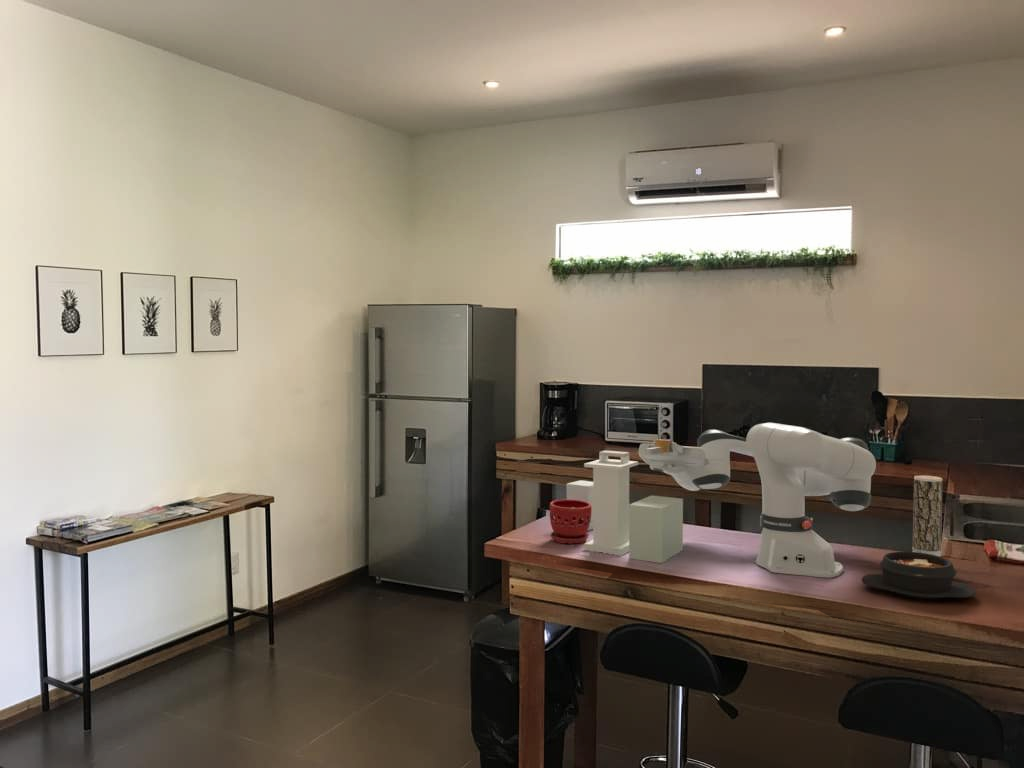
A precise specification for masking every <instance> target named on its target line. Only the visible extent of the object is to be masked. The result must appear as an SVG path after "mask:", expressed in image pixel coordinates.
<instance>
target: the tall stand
mask: <svg viewBox="0 0 1024 768" xmlns="http://www.w3.org/2000/svg"><path fill="white" fill-rule="evenodd" d="M598 454H599V456H598V459H596V460H593V461H590V462H585V463H583V468H592V475H593V476H592V477H593V478H592V480H593V481H592V482H593V529H592V530H593V531H592V533H593V535H592V539H591V540H589V541H587V542H585V543H583V545H584V547H583V549H584V551H586V550H591V551H590V552H593V551H597V552H596V553H599V552H603V553H602V554H606V553H610V554H609V555H612V554H614V556H619V557H620V556H624V555H626V554H627V553H629V504H630V468H632V467H635V466H639V461H636V460H635V461H634V460H630V452H629V451H618V450H617V451H616V450H607V449H605V450H602V451H599V453H598ZM609 457H615V458H620V459H611V458H609Z"/></svg>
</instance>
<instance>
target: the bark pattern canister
mask: <svg viewBox="0 0 1024 768" xmlns="http://www.w3.org/2000/svg"><path fill="white" fill-rule="evenodd" d="M912 506H913V510H912V512H913V513H912V514H913V517H912V552H918V553H925V554H931V555H935V556H939V557H942V524H943V523H942V519H943V514H942V513H943V478H942V477H940V476H933V475H914V478H913V505H912Z"/></svg>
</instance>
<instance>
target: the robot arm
mask: <svg viewBox="0 0 1024 768" xmlns="http://www.w3.org/2000/svg"><path fill="white" fill-rule="evenodd" d="M696 443H697V445H696V446H684V445H680V444H677V442H674V441H673V442H671V445H670V448H671V449H672V450H673V452H670V453H658V454H652V455H647V454H645V449H647V448H654V447H655V440H653V442H652V443H640V445H639V448H638V453H637V454H638V456H639V457H640V459H641V460H642V461H643V462H645V464H647V465H649V468H650V470H653V471H656V472H657V471H658V472H660V473H665V474H666V475H670V476H671V477H673V479H674V481H675V482H677V484H678V485H679V486H680V487H682V488H683V489H686V490H687V491H691V492H692V491H693V492H695V491H699V490H702V491H716V490H720V489H721V488H723V487H725V486H726V485H727V484H728V483H729V482H730V481H731V458H730V455H731V454H730V453H731V452H734V453H737V454H741V455H746V456H750V457H753V459H754V461H755V463H756V466H757V470H758V472H759V477H760V480H761V481H760V482H761V490H762V491H761V493H762V494H761V496H762V500H761V501H762V503H761V505H762V512H761V513H760V518H759V528H760V535H761V536H760V542H759V548H758V553H757V557H756V559H755V564H756V565H758V566H759V567H762V568H764V569H766V570H768V571H769V572H771V573H775V574H776V573H777V574H787V575H796V576H807V577H815V578H817V577H818V578H828V579H829V578H834V577H837V576H840V575H841V574H842V573H843V571H844V567H843V564H842V563H841V562H839V561H835V555H834V551H833V548H832V546H831V544H830V543H829V542H827V541H826V540H825V539H824V538H822V537H821V536H820V535H819V534H817V533H816V532H815V531H814V530H812V528H813V520H814V519H813V517H809V516H807V515H806V514H805V507H806V506H805V503H806V502H805V501H806V500H805V497H819V496H820V497H821V496H822V497H823V496H825V497H826V499H827V500H829V501H831V503H832V504H833V505H834V506H835V507H836V508H838V509H840V510H842V511H848V512H858V511H862V510H866V509H867V508H868V507H869V506H870V503H871V499H872V494H871V485H872V476H873V475H874V473H875V472H876V467H877V461H876V458H875V456H874V454H873V453H872V452H871V451H870V450H869V447H868V444H867V443H866V442H865V441H864V440H863V439H861V438H857V437H842V438H837V437H833V436H829V435H825V434H823V433H821V432H818V431H816V430H812V429H810V428H807V427H803V426H797V425H790V424H789V425H788V424H783V423H778V422H777V423H775V422H765V423H764V422H763V423H758V424H755V425H754V426H752V427H751V428H750V429H749V431H748V432H747V435H746V438H744V437H741V436H737V435H733V434H729V433H727V432H725V431H723V430H720V429H719V430H718V429H708V430H705V431H703V432H702V433H701V435H699V437H698V438H697V440H696Z"/></svg>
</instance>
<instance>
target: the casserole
mask: <svg viewBox="0 0 1024 768" xmlns="http://www.w3.org/2000/svg"><path fill="white" fill-rule="evenodd" d="M879 567H880V568H881V570H882V573H867V574H865V575H863V576H862V577H861V582H862V583H863V584H864V585H866V586H868V587H870V588H873V589H874V588H875V589H879V590H884V591H889V592H892V593H894V594H897V595H899V596H903V597H905V598H911V599H916V600H917V599H918V600H938V599H942V598H956V599H957V598H958V599H961V598H965V599H966V598H967V599H968V598H970V597H973V596H975V595H976V593H977V592H976V590H975V589H974V588H973V587H972V586H970V585H968V584H967V583H964V582H959V581H954V580H953V579H954V578H955V577H954V576H956V575H957V573H958V572H957V570H956V569H955V568H954V564H953V562H952V561H951V560H949V559H947V558H945V557H942V556H941V557H939V556H935V555H931V554H925V553H918V552H913V551H894V552H889V553H886V554H884V555H883V558H882V560H881V561H880V562H879Z"/></svg>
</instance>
